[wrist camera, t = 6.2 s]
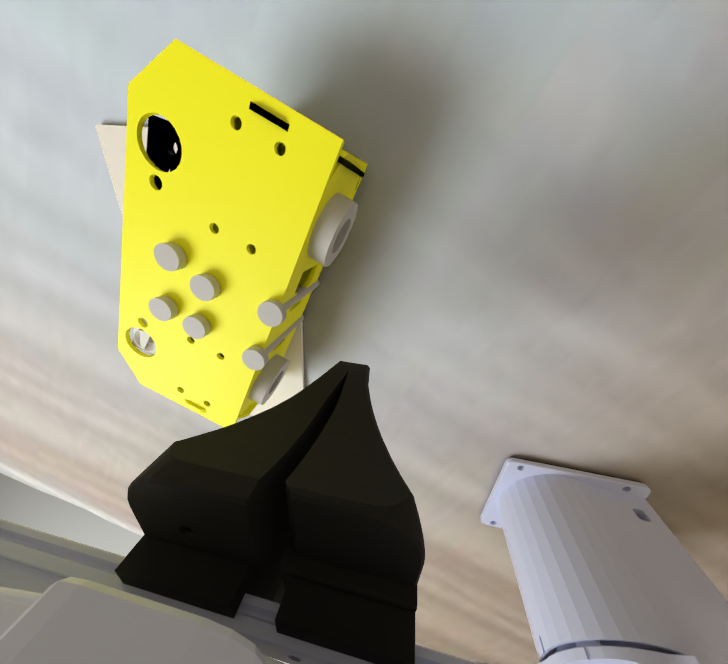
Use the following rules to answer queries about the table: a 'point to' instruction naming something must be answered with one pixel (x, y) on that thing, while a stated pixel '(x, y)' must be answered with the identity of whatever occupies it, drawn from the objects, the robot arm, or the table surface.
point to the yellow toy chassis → (223, 232)
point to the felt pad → (115, 159)
